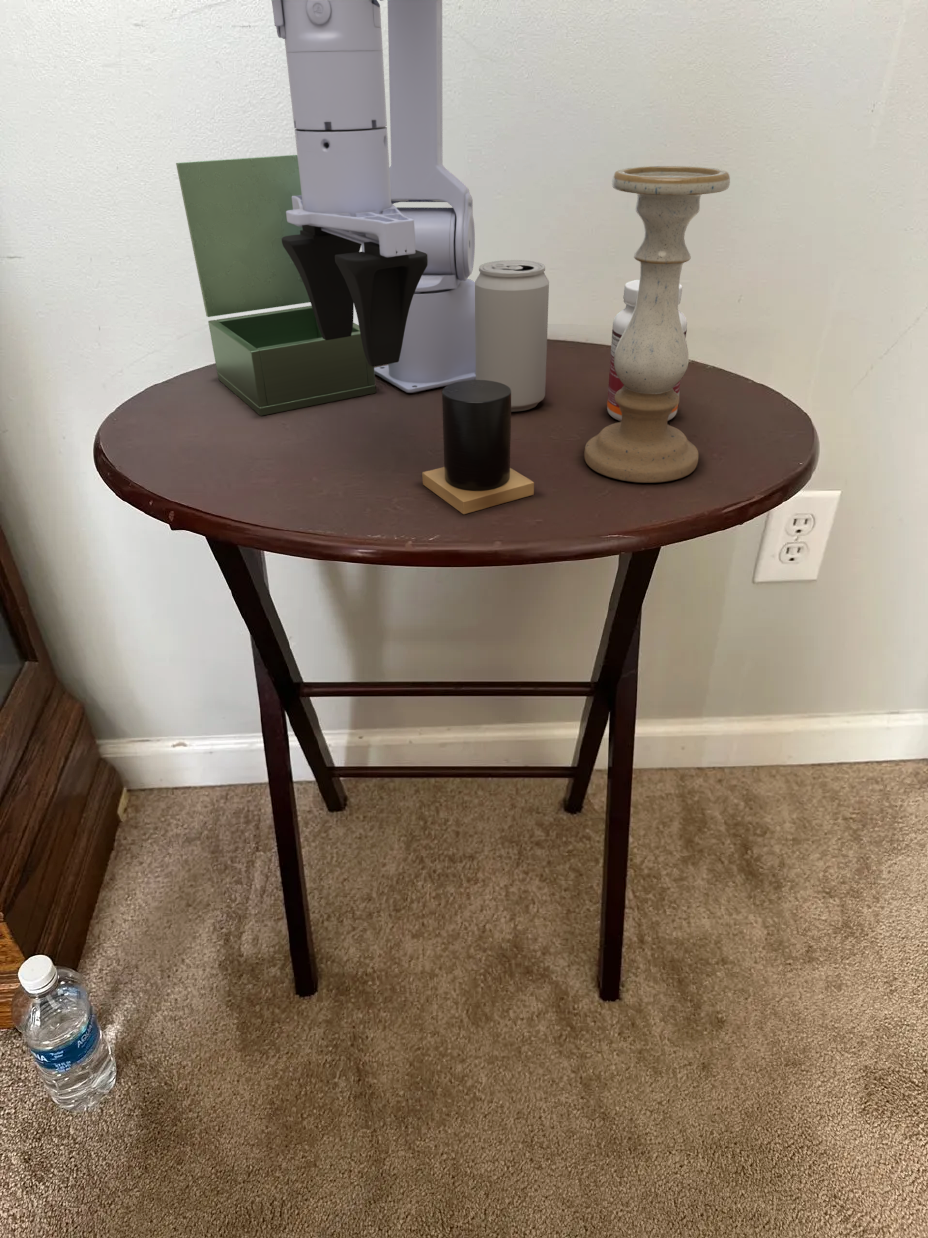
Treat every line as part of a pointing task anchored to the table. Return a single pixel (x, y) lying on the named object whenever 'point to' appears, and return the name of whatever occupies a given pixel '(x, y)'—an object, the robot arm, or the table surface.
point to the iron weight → (476, 434)
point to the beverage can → (512, 328)
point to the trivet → (477, 499)
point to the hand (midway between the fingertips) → (359, 349)
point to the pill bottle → (617, 331)
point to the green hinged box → (288, 361)
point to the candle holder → (654, 331)
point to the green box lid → (243, 231)
